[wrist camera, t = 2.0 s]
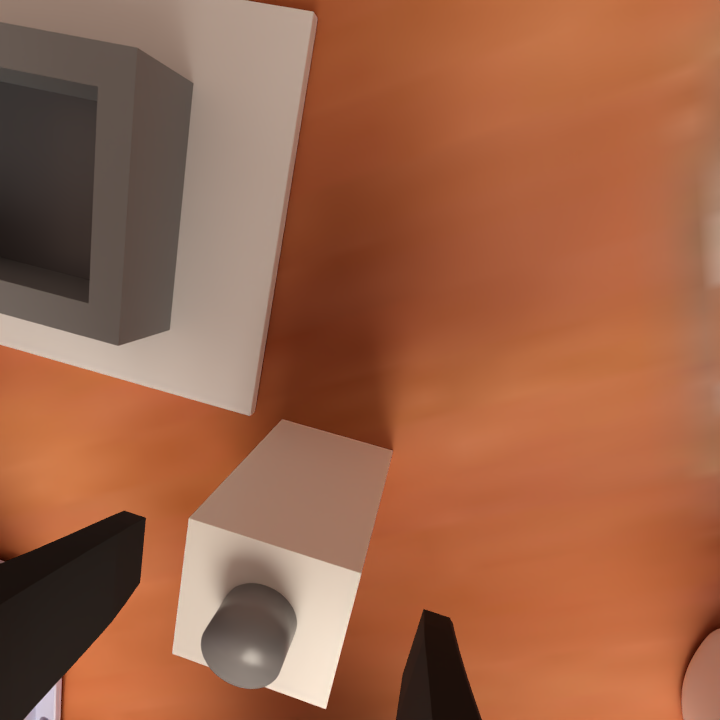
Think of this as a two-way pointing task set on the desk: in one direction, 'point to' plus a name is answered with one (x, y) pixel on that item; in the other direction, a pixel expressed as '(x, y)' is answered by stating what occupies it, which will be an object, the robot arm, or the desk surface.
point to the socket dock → (148, 185)
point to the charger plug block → (280, 561)
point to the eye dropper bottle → (703, 682)
